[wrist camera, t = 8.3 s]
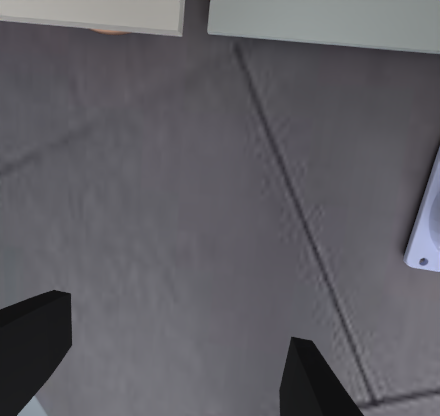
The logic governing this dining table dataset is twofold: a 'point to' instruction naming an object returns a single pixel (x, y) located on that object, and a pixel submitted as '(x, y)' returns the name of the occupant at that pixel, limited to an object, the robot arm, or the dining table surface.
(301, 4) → the mat
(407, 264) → the robot arm
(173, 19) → the cover sheet
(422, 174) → the dining table surface
